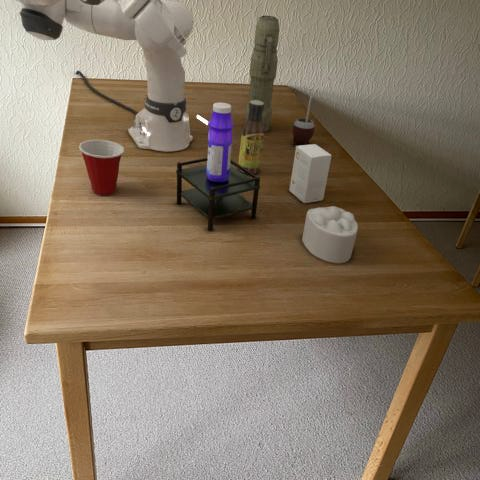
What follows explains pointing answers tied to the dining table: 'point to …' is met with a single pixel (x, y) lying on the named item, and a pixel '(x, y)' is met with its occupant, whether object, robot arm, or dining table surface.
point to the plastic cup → (102, 164)
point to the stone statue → (264, 66)
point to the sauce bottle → (252, 138)
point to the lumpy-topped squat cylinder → (330, 233)
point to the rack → (217, 191)
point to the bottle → (219, 143)
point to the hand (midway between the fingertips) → (184, 49)
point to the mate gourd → (303, 129)
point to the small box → (310, 173)
